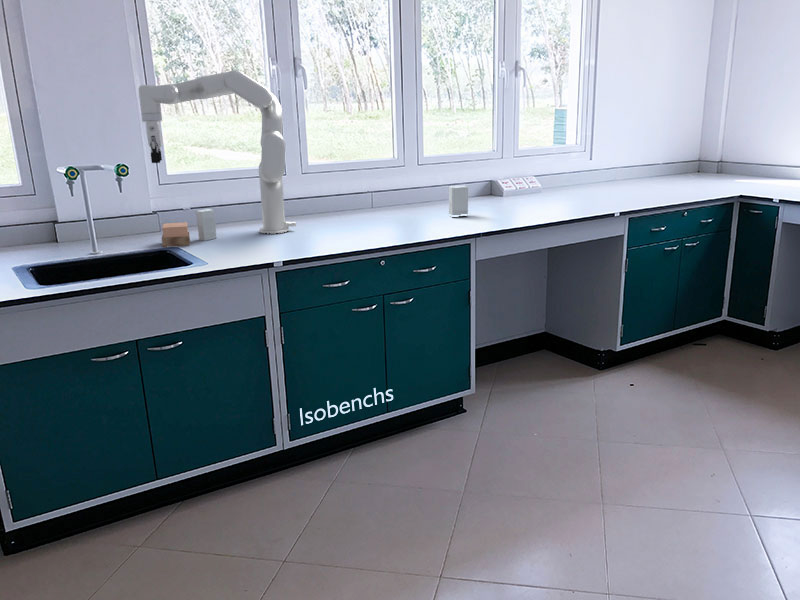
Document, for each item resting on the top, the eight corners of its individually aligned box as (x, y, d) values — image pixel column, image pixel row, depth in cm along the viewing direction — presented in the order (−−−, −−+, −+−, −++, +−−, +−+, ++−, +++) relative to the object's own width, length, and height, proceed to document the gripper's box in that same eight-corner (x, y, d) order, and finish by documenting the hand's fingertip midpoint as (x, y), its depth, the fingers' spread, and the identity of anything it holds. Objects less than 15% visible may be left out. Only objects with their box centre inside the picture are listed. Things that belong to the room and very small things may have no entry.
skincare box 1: (210, 237, 274) (208, 208, 270) (216, 238, 271) (214, 209, 268) (198, 239, 269) (195, 210, 266) (204, 240, 267) (201, 211, 263)
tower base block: (190, 241, 268) (189, 231, 266) (189, 246, 258) (188, 236, 257) (164, 242, 265) (163, 233, 264) (162, 248, 256) (161, 238, 255)
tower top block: (188, 232, 266) (187, 222, 265) (187, 236, 258) (186, 226, 257) (164, 233, 264) (163, 223, 263) (163, 237, 255) (162, 227, 254)
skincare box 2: (464, 215, 321) (465, 184, 316) (468, 217, 315) (469, 186, 311) (447, 216, 319) (448, 185, 314) (451, 218, 313) (452, 187, 309)
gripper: (160, 118, 252) (165, 163, 257) (163, 117, 268) (167, 159, 273) (139, 118, 250) (145, 164, 255) (143, 117, 266) (148, 160, 271)
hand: (156, 161), depth 264 cm, fingers open, 9 cm apart
